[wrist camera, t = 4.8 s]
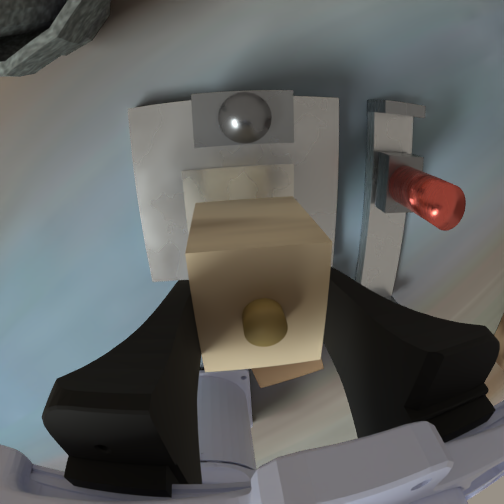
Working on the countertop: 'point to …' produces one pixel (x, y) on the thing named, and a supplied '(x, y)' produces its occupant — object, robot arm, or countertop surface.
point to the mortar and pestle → (45, 31)
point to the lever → (417, 191)
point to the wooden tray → (503, 337)
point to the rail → (374, 220)
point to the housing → (257, 282)
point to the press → (230, 162)
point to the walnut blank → (285, 372)
